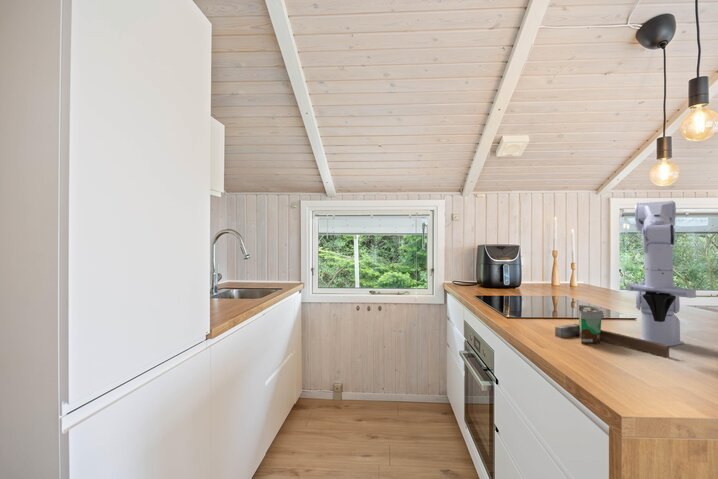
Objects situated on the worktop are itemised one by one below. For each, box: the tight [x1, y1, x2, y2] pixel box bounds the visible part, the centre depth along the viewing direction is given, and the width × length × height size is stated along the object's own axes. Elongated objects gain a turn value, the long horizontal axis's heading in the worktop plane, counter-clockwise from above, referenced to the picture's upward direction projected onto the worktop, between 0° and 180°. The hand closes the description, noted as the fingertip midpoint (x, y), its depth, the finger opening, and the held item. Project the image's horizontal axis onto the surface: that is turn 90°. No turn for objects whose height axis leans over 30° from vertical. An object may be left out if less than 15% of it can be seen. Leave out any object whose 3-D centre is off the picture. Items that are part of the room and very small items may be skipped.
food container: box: [578, 304, 605, 346], centre depth 106 cm, size 12×6×10 cm, turn 150°
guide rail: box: [554, 323, 670, 359], centre depth 101 cm, size 10×26×3 cm, turn 21°
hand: (659, 321), depth 91 cm, fingers closed
